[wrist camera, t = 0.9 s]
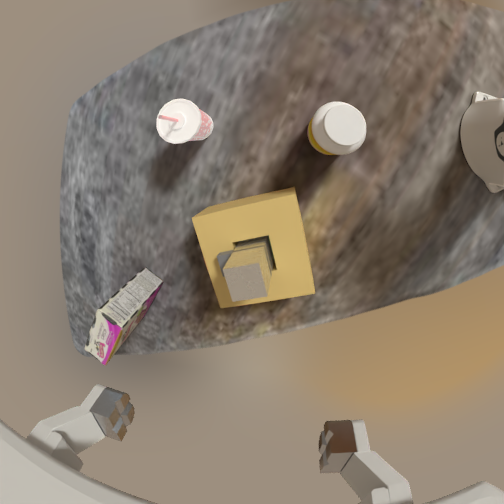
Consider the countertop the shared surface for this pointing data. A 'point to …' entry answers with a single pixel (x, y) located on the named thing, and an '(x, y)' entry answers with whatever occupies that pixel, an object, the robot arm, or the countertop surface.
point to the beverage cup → (183, 122)
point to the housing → (252, 226)
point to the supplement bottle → (337, 129)
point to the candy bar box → (121, 315)
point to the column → (250, 269)
